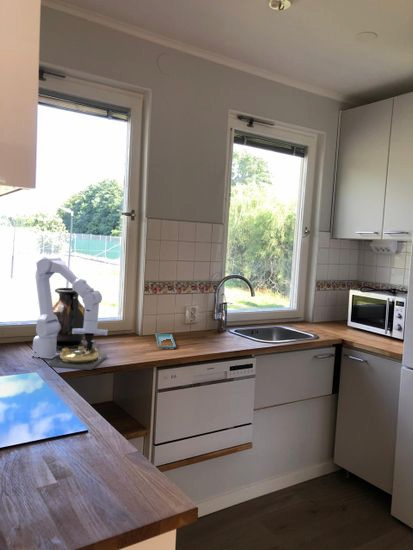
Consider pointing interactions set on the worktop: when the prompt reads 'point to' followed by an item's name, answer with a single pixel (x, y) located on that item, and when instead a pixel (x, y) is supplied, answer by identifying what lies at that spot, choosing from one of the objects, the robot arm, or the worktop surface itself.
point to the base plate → (84, 365)
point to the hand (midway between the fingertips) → (88, 350)
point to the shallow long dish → (163, 337)
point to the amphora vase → (69, 319)
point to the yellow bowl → (79, 354)
